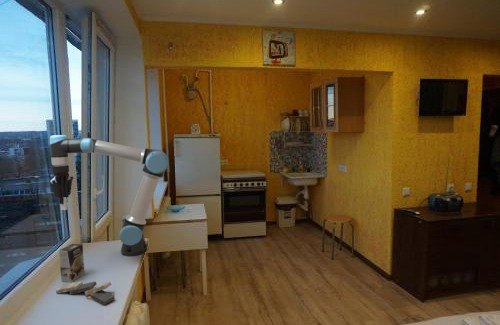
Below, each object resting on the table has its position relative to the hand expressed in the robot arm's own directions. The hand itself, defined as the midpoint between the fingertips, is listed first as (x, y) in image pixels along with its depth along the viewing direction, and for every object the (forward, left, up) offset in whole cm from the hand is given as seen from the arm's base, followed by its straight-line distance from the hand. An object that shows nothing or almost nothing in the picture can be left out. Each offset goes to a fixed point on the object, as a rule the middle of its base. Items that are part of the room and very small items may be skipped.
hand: (64, 209), depth 165 cm
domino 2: (+3, +29, -32) cm, 43 cm away
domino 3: (-2, +36, -31) cm, 47 cm away
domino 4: (-2, +38, -33) cm, 50 cm away
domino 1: (+7, +24, -32) cm, 40 cm away
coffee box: (0, +13, -33) cm, 35 cm away
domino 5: (-4, +40, -31) cm, 51 cm away
